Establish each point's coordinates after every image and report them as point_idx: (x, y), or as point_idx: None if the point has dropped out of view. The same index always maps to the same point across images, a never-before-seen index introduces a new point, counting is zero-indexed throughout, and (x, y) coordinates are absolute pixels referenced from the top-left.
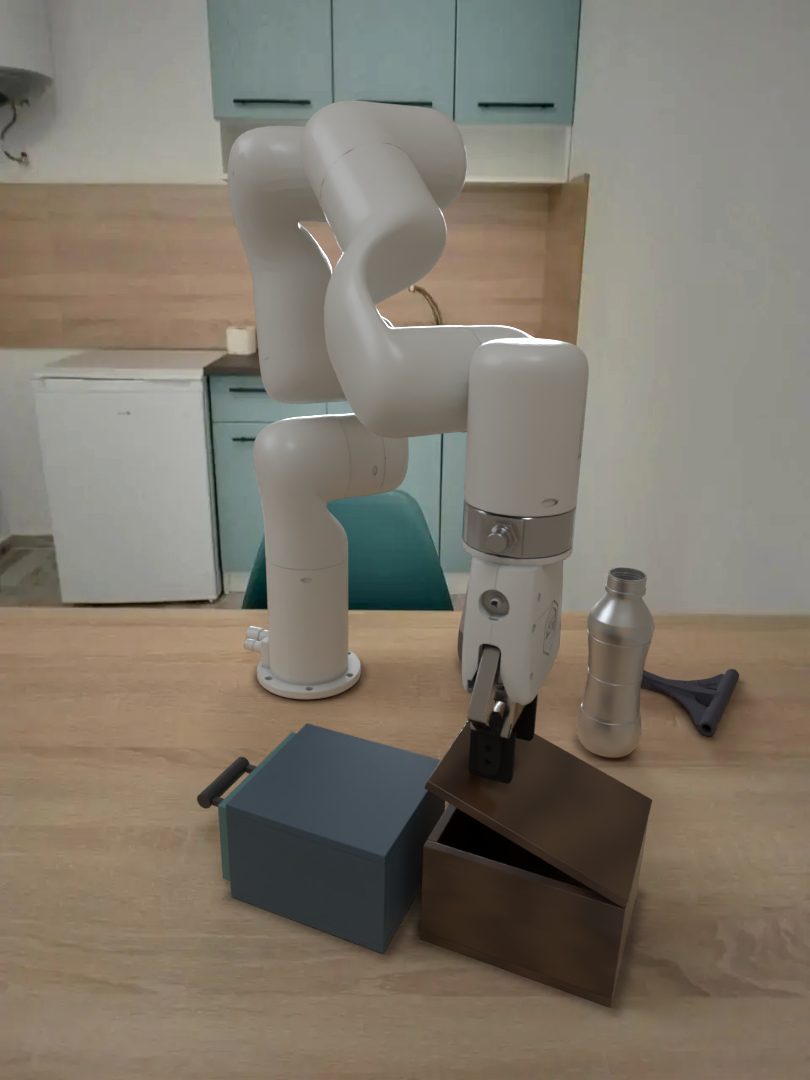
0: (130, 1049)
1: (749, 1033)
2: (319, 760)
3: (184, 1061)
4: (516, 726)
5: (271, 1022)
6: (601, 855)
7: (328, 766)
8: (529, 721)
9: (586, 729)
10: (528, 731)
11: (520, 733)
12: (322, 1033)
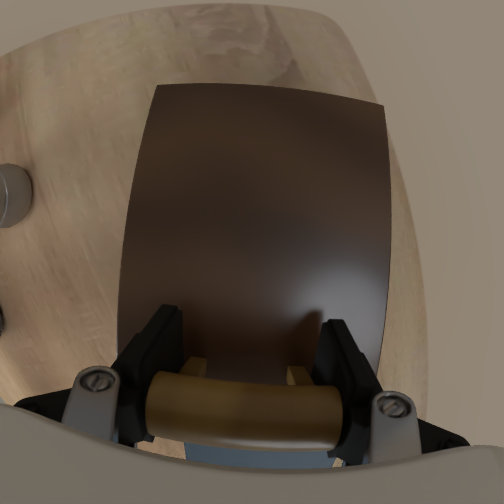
0: (417, 404)
1: (318, 37)
2: (239, 463)
3: (423, 382)
4: (175, 349)
5: (400, 360)
6: (337, 137)
7: (245, 457)
8: (168, 335)
9: (15, 214)
10: (175, 322)
11: (179, 333)
12: (405, 332)
